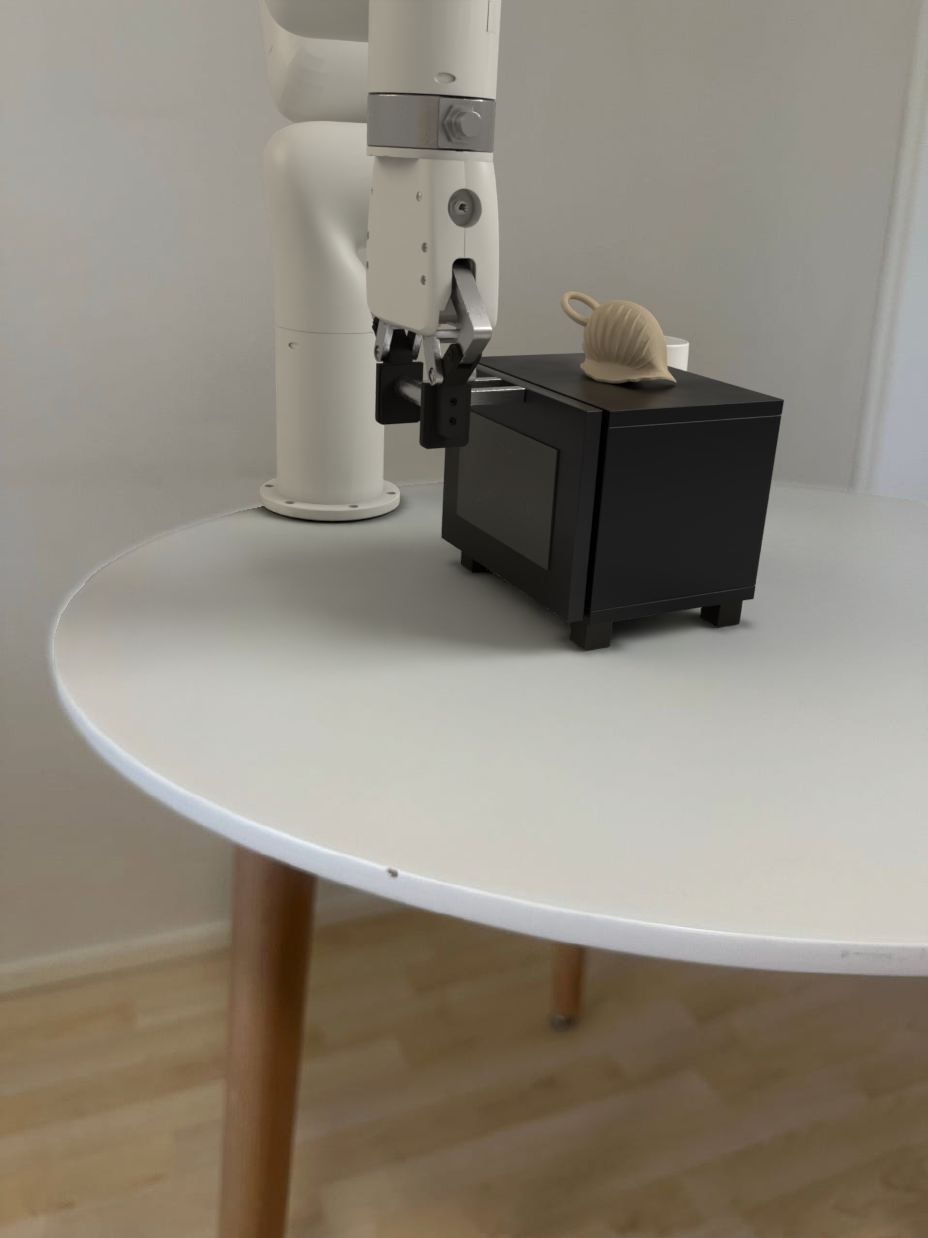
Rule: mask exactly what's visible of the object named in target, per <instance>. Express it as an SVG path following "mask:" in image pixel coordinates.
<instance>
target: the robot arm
mask: <svg viewBox="0 0 928 1238" xmlns="http://www.w3.org/2000/svg"><path fill="white" fill-rule="evenodd" d="M257 1H258V10H259V20H260V28H261V37H262V46H263V54H264V61H265V69H266V75H267V81H268V86H269V91H270V95H271V98H272V100H273V102H274V105H275V107H276V109H277V110H278V112H279V113H280V114H281V116H283V118H285V119H286V120H288V121H290V122H291V123H293V124H289V125H287V126H285V127H282V128H281V129H279V130H277V131H276V132H275V133H274V134H272V135H271V136H270V137H269V139H268V140H267V142H266V144H265V145H264V149H263V152H262V155H261V161H260V180H261V191H262V196H263V203H264V210H265V216H266V221H267V229H268V235H269V241H270V243H269V244H270V251H271V262H272V263H271V264H272V278H273V279H272V281H273V313H274V317H273V319H274V320H273V321H274V322H273V323H274V361H275V362H274V364H275V366H274V367H275V369H274V370H275V372H274V373H275V432H276V433H275V434H276V435H275V437H276V441H275V442H276V444H275V445H276V446H275V447H276V477H273V478H271V479H268V480H267V481H266V482H264V483H263V484H262V485H260V488H259V493H258V494H259V495H258V496H259V497H258V498H259V499H258V500H259V502H260V504H261V505H262V506H263V507H264V508H266V509H267V510H269V511H271V512H273V513H276V514H278V515H281V516H285V517H289V518H294V519H301V520H311V521H321V522H322V521H325V522H338V521H339V522H340V521H341V522H342V521H343V522H345V521H356V520H364V519H370V518H375V517H379V516H383V515H386V514H388V513H391V512H392V511H394V510H395V509H396V508H397V507H398V506H399V505H400V502H401V491H400V489H399V488H398V486H397V485H396V484H394V483H393V482H391V481H388V480H386V479H384V467H385V465H384V461H385V460H384V459H385V426H386V425H400V424H401V425H402V424H417V423H419V439H418V440H419V441H418V442H419V443H418V444H419V445H420V447H422V448H423V449H426V450H436V449H437V450H438V449H445V448H450V447H463V446H466V445H467V444H468V442H469V429H470V409H471V389H472V384H473V383H474V382H475V380H476V366H477V365H478V363H479V362H480V359H481V357H483V352H484V351H485V349H486V347H487V346H488V344H489V342H490V341H491V339H492V337H493V330H495V328H496V326H497V322H498V316H499V315H498V313H499V294H500V293H499V291H500V290H499V289H500V288H499V287H500V286H499V285H500V220H499V201H498V191H497V189H498V188H497V181H496V180H497V179H496V172H495V166H494V165H495V164H494V148H495V147H494V146H495V129H496V128H495V126H496V112H497V111H496V107H497V102H496V101H497V85H498V71H499V70H498V69H499V50H500V33H501V15H502V14H501V13H502V0H257ZM362 249H366V255H365V265H364V264H363V262H362V261H361V260H360V258H359V255H358V251H359V250H362ZM441 325H448V326H451V327H454V328H451V329H450V328H448V329H438V328H441ZM406 331H407V333H406ZM441 344H449V345H448V347H447V349H446V351H445V353H444V354H443V355H442V350H441ZM421 345H422V346H423V353H424V359H425V360H424V361H425V368H426V375H427V380H428V381H429V383H421V406H419V405H417V404H415V403H413V402H411V401H409V400H406V399H404V398H402V397H400V396H398V395H397V394H396V393H395V392H394V390H393V383H394V381H395V379H396V378H397V377H399V376H401V375H406V376H408V377H411V378H413V379H415V380H417V381H420V380H424V361H417V360H418V358H419V355H420V350H421Z"/></svg>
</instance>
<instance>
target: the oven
mask: <svg viewBox="0 0 928 1238" xmlns="http://www.w3.org/2000/svg"><path fill="white" fill-rule="evenodd" d="M585 358H586V357H585V353H584V352H571V353H547V354H544V353H542V354H540V353H539V354H515V355H492V356H491V355H490V356H482V357H481V359H480V362H479V363H478V364H480V365H482V366H485V367H488V368H490V369H493V370H496V371H498V372H501V373H504V374H506V375H509V376H512V377H514V378H517V379H520V380H522V381H525V382H528V383H531V384H533V385H536V386H539V387H541V388H544V389H547V390H549V391H552V392H555V393H557V394H560V395H563V396H565V397H568V398H571V399H573V400H576V401H579V402H582V403H584V404H587V405H590V406H592V407H595V408H598V409H600V410H602V411H603V413H602V423H601V434H600V445H599V455H598V466H597V477H596V487H595V498H594V509H593V519H592V530H591V541H590V551H589V562H588V573H587V583H586V594H585V605H584V615H583V620H582V621H576V622H570V628H569V638H568V639H569V641H571V642H572V643H573V644H575V645H576V646H578V647H579V648H581V649H582V650H584V651H591V650H597V649H602V648H607V647H608V648H609V647H610V646H611V640H612V632H613V624H614V622H621V621H626V620H627V621H628V620H633V619H634V620H635V619H638V618H644V617H651V616H657V615H663V614H670V613H676V612H681V611H682V612H683V611H688V610H694V609H700V614H699V618H700V619H701V620H703V621H704V622H707V623H708V624H710V625H712V626H714V627H715V628H719V629H720V628H723V627H729V626H736V625H740V623H741V616H742V611H743V603H744V601H750V600H754V599H755V592H756V584H757V578H758V573H759V566H760V559H761V553H762V545H763V541H764V540H763V539H764V532H765V526H766V520H767V514H768V507H769V501H770V500H769V499H770V492H771V486H772V481H773V474H774V469H775V461H776V453H777V448H778V440H779V434H780V429H781V428H780V427H781V420H782V415H783V409H784V404H785V399H783V398H780V397H777V396H773V395H769V394H765V393H762V392H759V391H756V390H753V389H749V388H746V387H743V386H739V385H736V384H731V383H728V382H725V381H721V380H718V379H715V378H711V377H707V376H704V375H700V374H697V373H694V372H690V371H688V370H687V371H684V370H681V369H677V368H674V367H670V366H667V368H668V371H669V372H670V374H671V375H672V376H673V378H674V379H675V380H676V383H675V382H673V381H671V380H668V379H655V380H640V381H637V382H631V381H627V382H623V383H608V382H601V381H596V380H594V379H593V378H591V377H589V376H587V375H586V374H585V372H584V371H581V367H580V364H581V363H584V361H585ZM460 565H461V566H462V567H464V568H465V569H467V570H468V571H470V572H471V573H476V572H484V571H485V572H487V571H490V570H489V569H487V568H486V567H484V566H483V565H481V564H480V563H478V562H477V561H475V560H474V559H472V558H471V557H469V556H468V555H466V554H465V553H463V552H462V551H460Z"/></svg>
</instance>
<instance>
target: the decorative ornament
mask: <svg viewBox="0 0 928 1238" xmlns="http://www.w3.org/2000/svg"><path fill="white" fill-rule="evenodd" d="M570 300H576V301H579V302H581V303H583V304H584V305H586V306H587V307H588V308H590V309H591V310H592V312H591V314H590V316H589V318H588V317H586V316H584V315H581V314H579V313H578V312H577V311H575V310H574V309H573V308H572V307H571V305H570V304H569V301H570ZM560 306H561V309H562V311H563V312H564V314H566V316H567V317H568V318H569V319H570V320H572V321H573V322H574V323H575V324H577V325H579V326H582V327H583V335H582V338H583V341H582V344H581V350H582V352H583V353H585V357H586V358H585V361H584V363H581V364H580V367H581V371H584V372H585V374H586V375H587V376H589V377H591V378H593V379H594V380H596V381H601V382H608V383H623V382H627V381H631V382H637V381H640V380H655V379H668V380H671V381H673V382H675V383H676V380H675V379H674V378H673V376H672V375H671V374H670V372H669V371H668V368H667V346H666V341H665V337H664V336H665V335H664V332H663V330H662V328H661V326H660V323H659V322H658V320H657V319H656V317H655V316H654V315H653V314H652V313H651V311H649V310H648V309H647V308H645V307H644V306H643V305H640V304H638V303H635V302H633V301H629V300H623V299H611V300H607V301H604V302H603V303H601V304H599V302H597V301H596V300H595V299H593V297H590V296H589V295H587V294H585V293H582V292H579V291H567V292H565V293H563V294H562V295H561V297H560Z"/></svg>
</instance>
